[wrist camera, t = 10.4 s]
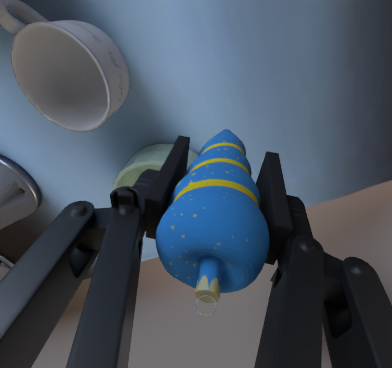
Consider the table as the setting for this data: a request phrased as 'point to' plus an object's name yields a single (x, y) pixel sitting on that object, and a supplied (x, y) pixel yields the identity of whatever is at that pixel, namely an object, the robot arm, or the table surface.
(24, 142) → the table surface
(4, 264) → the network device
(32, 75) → the teacup
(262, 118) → the table surface
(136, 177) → the bowl
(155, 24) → the table surface
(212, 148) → the ornament
